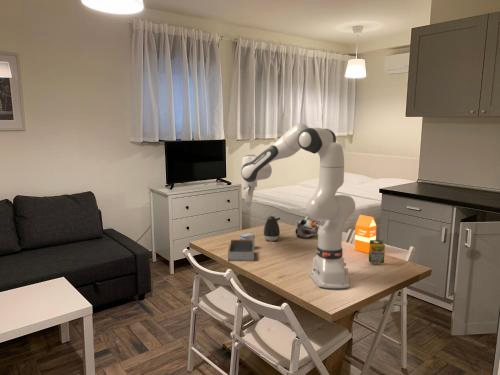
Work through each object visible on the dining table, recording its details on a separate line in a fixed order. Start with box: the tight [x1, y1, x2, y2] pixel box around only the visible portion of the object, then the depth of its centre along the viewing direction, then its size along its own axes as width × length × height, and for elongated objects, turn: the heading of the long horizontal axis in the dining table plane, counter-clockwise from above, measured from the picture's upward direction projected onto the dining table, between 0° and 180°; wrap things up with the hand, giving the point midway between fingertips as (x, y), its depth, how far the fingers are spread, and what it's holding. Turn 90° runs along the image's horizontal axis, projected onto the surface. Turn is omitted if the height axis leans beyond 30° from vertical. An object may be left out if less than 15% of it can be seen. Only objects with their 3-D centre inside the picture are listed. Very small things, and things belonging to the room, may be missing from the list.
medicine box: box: [239, 232, 256, 249], centre depth 219 cm, size 8×4×9 cm, turn 134°
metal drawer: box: [227, 239, 255, 262], centre depth 206 cm, size 14×14×8 cm
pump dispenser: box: [263, 215, 281, 242], centre depth 237 cm, size 10×10×15 cm
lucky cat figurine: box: [294, 218, 320, 239], centre depth 243 cm, size 15×12×14 cm
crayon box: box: [368, 239, 386, 264], centre depth 198 cm, size 7×3×12 cm, turn 89°
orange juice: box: [354, 214, 377, 254], centre depth 218 cm, size 8×9×20 cm
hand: (248, 207), depth 216 cm, fingers open, 8 cm apart
